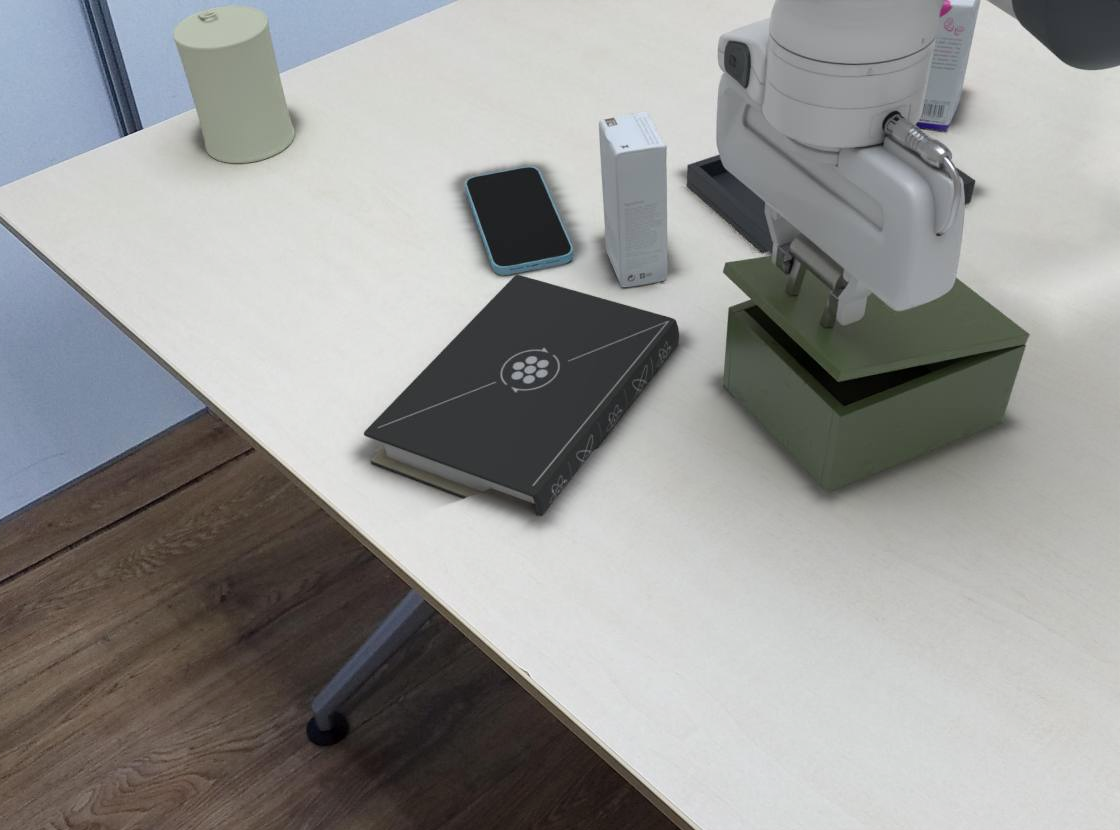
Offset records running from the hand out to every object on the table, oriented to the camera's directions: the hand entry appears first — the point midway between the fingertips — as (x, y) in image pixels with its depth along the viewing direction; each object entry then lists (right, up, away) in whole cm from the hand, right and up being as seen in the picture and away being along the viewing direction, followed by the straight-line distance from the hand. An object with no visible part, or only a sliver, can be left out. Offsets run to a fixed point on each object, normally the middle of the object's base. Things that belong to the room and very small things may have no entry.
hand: (815, 291), depth 75 cm
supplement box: (+20, +27, +38) cm, 51 cm away
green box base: (+6, -6, +11) cm, 13 cm away
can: (-47, +27, +44) cm, 70 cm away
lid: (+5, 0, +3) cm, 6 cm away
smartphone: (-19, +14, +30) cm, 38 cm away
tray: (+8, +17, +30) cm, 35 cm away
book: (-18, -5, +14) cm, 24 cm away
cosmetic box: (-9, +9, +25) cm, 28 cm away
